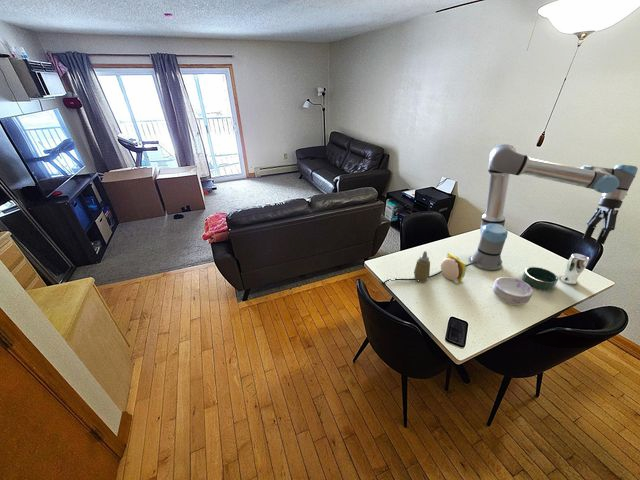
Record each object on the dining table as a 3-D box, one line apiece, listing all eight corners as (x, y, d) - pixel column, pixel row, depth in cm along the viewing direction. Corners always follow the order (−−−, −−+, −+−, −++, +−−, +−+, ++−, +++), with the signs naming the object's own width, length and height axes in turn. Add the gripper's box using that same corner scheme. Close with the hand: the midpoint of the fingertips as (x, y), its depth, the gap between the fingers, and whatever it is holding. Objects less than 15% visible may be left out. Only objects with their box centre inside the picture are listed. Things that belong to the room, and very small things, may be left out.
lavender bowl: (483, 292, 133) (487, 279, 130) (507, 285, 137) (512, 273, 133) (510, 312, 121) (515, 299, 117) (535, 305, 124) (542, 292, 120)
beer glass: (580, 285, 134) (593, 261, 127) (564, 284, 136) (576, 260, 128) (571, 277, 140) (584, 253, 133) (556, 276, 142) (568, 252, 134)
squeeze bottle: (410, 279, 145) (414, 252, 136) (416, 273, 150) (421, 246, 141) (424, 285, 140) (429, 257, 131) (430, 278, 145) (436, 250, 136)
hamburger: (436, 273, 149) (439, 255, 143) (448, 269, 151) (452, 252, 146) (452, 285, 139) (456, 266, 133) (464, 281, 141) (469, 263, 136)
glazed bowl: (528, 289, 133) (532, 281, 131) (517, 274, 145) (520, 265, 142) (559, 292, 131) (564, 283, 128) (545, 276, 142) (549, 267, 139)
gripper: (639, 201, 112) (616, 248, 117) (608, 199, 134) (590, 239, 139) (616, 197, 115) (595, 243, 120) (589, 196, 137) (572, 235, 142)
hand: (592, 241), depth 130 cm, fingers open, 13 cm apart
